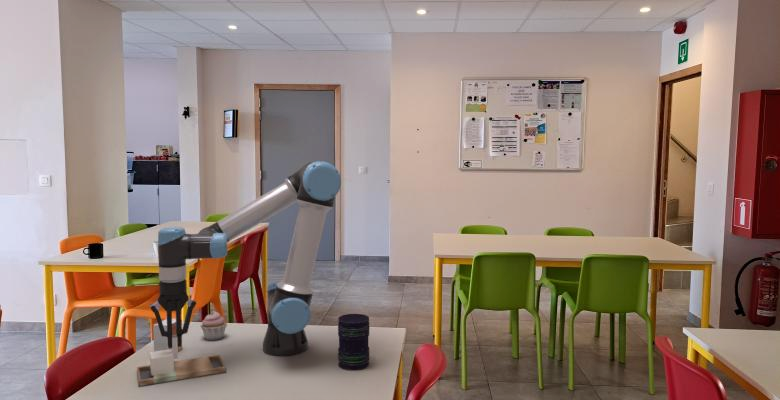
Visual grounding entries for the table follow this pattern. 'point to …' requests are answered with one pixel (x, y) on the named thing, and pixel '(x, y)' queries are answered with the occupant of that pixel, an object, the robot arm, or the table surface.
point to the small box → (161, 341)
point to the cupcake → (213, 326)
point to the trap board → (183, 370)
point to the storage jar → (353, 342)
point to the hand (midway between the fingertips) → (174, 357)
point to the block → (161, 362)
